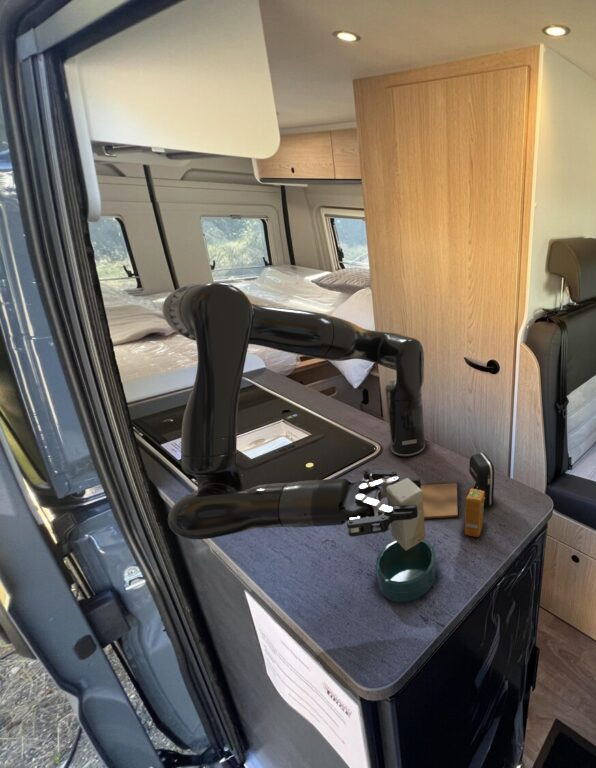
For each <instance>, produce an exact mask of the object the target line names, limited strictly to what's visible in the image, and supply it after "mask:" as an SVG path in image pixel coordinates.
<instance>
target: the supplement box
mask: <svg viewBox="0 0 596 768" xmlns="http://www.w3.org/2000/svg"><path fill="white" fill-rule="evenodd" d="M484 495H485V492H484V491H482V490H477V489H473V488H470V489H469V493H468V494H467V496H466V498H465V509H464V510H465V512H464V535H466V536H470V537H475V538H479V537H480V535H481V533H482V530H483V525H484V509H485V508H484V507H485V506H484Z"/></svg>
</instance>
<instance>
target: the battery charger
mask: <svg viewBox="0 0 596 768" xmlns="http://www.w3.org/2000/svg"><path fill="white" fill-rule="evenodd" d="M468 468H469V470H468V472H469V474H470V476H471V477H472V479H473V480H474V482H475V483H474V486H473V488H472V489H477V490H482V491H484V492H485V495H484V507H488V506H491V505H493V504H494V490H495V466H494V463H493V462H492V461H491V459H490V458H489V457H488V455H487V454H486V453H485V452H479V453H476V454H473V455H471V456H470V458H469V467H468Z"/></svg>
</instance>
